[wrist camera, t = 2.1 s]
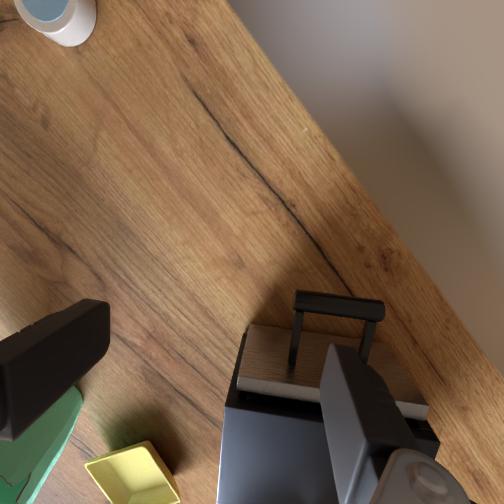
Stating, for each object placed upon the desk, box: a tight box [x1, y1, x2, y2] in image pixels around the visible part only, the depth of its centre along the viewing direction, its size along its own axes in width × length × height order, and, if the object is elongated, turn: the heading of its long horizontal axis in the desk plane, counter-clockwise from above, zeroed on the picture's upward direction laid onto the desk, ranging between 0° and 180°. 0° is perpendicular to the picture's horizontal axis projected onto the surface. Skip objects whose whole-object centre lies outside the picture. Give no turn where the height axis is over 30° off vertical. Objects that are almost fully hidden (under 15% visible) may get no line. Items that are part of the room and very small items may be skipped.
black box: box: [217, 333, 440, 504], centre depth 23 cm, size 15×14×9 cm
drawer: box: [237, 289, 429, 421], centre depth 22 cm, size 20×12×7 cm, turn 175°
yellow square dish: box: [85, 441, 181, 504], centre depth 31 cm, size 9×9×2 cm
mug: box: [0, 386, 83, 504], centre depth 25 cm, size 15×10×10 cm
